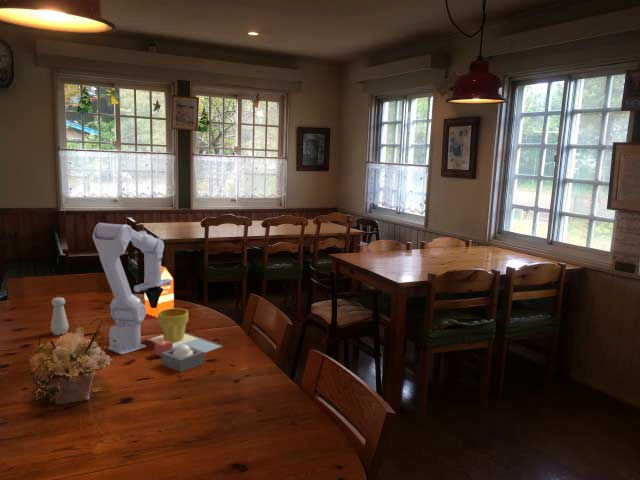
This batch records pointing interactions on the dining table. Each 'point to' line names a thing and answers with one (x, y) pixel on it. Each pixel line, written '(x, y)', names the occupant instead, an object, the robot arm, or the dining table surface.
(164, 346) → the red die
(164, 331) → the plant pot
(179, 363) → the dome base
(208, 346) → the game board
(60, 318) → the salt shaker
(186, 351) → the dome button
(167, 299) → the orange juice
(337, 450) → the dining table surface
